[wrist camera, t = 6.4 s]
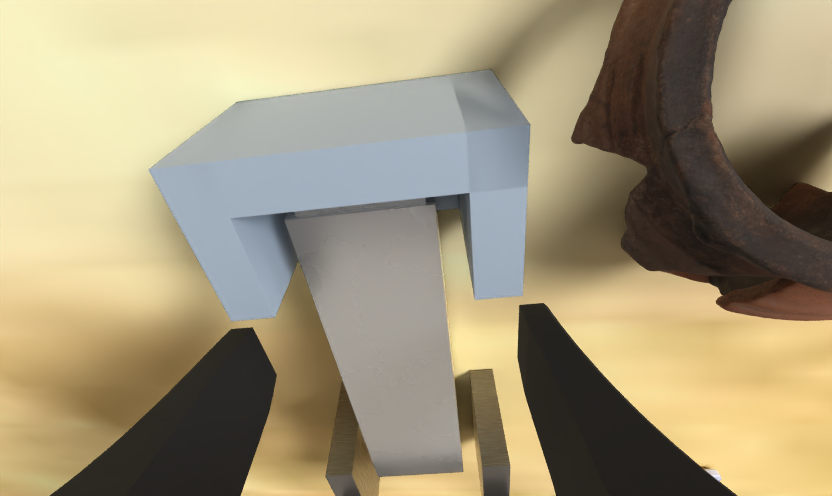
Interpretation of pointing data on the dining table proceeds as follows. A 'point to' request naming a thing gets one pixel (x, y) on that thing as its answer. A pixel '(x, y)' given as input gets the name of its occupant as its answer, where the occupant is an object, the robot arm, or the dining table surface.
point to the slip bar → (387, 326)
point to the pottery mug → (701, 171)
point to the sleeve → (355, 468)
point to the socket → (350, 177)
